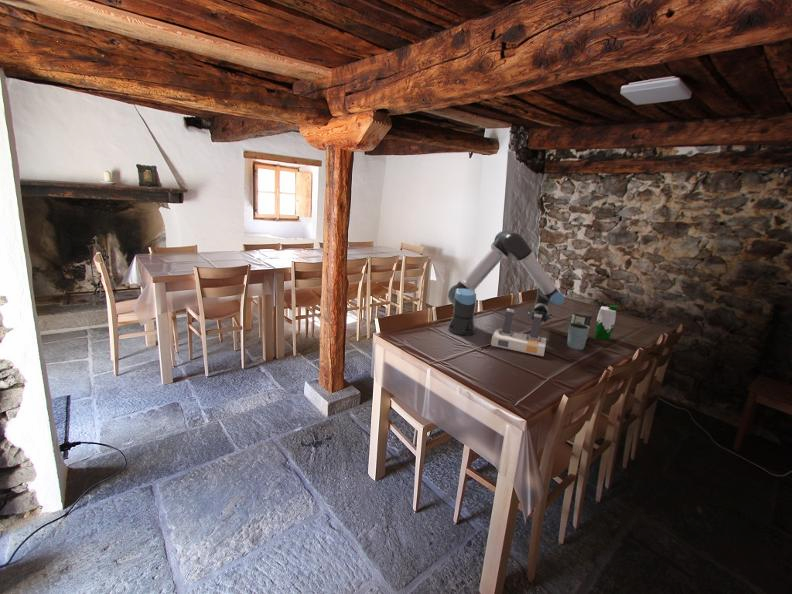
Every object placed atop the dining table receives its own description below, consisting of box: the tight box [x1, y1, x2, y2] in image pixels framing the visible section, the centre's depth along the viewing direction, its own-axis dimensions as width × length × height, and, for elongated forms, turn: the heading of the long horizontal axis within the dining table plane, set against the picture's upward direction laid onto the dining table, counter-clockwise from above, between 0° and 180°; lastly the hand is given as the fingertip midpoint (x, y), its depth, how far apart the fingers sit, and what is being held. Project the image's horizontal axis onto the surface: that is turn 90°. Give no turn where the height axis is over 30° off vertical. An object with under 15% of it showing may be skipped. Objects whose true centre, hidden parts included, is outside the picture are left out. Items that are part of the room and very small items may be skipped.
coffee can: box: [570, 310, 593, 339], centre depth 223 cm, size 10×10×14 cm
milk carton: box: [594, 304, 618, 342], centre depth 222 cm, size 9×9×20 cm
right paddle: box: [529, 313, 542, 338], centre depth 200 cm, size 4×2×13 cm, turn 67°
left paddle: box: [502, 308, 515, 333], centre depth 204 cm, size 4×2×13 cm, turn 67°
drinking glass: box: [566, 322, 591, 351], centre depth 206 cm, size 10×10×12 cm
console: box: [490, 328, 547, 357], centre depth 201 cm, size 26×14×7 cm, turn 67°
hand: (538, 322), depth 204 cm, fingers closed
